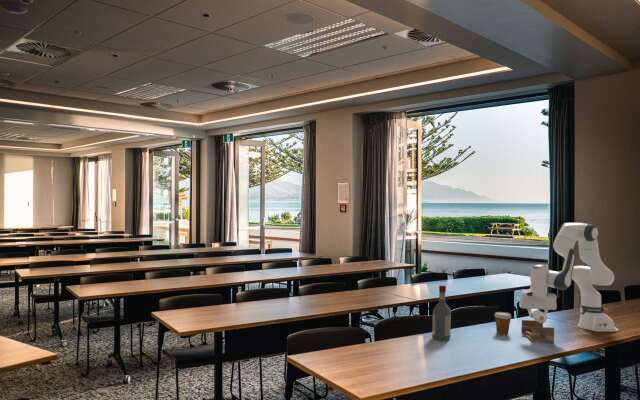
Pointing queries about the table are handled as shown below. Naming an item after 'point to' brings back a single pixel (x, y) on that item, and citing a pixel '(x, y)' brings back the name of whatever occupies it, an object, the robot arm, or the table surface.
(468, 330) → the table surface
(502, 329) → the disposable coffee cup
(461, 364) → the table surface
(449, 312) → the liquor
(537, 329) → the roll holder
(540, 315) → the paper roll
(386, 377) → the table surface
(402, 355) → the table surface
